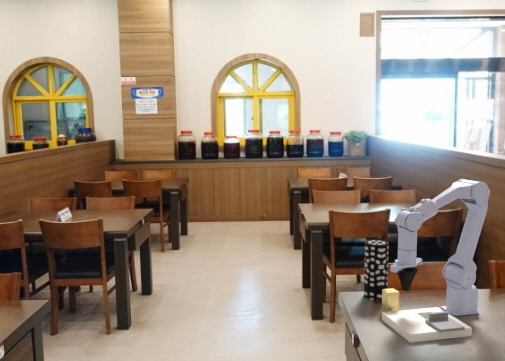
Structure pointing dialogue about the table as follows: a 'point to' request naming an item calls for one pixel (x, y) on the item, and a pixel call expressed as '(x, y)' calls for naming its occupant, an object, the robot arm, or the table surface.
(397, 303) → the peg
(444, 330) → the panel
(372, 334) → the table surface
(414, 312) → the socket base
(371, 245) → the white-spotted black cylinder
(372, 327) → the table surface
